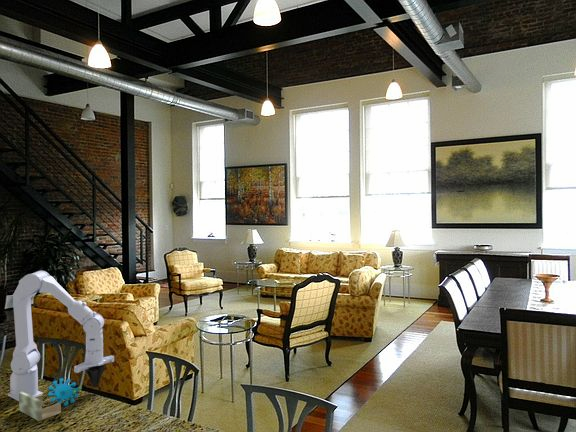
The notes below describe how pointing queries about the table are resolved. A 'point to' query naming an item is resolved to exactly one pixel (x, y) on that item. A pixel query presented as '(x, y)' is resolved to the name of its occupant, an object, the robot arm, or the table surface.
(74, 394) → the gear
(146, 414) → the table surface
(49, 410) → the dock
